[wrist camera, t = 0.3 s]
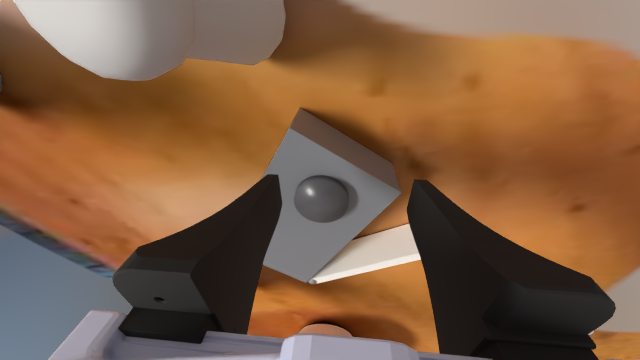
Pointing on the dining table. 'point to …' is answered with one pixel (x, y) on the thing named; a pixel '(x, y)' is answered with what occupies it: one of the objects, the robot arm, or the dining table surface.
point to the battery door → (370, 254)
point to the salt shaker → (156, 32)
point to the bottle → (0, 83)
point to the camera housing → (323, 195)
